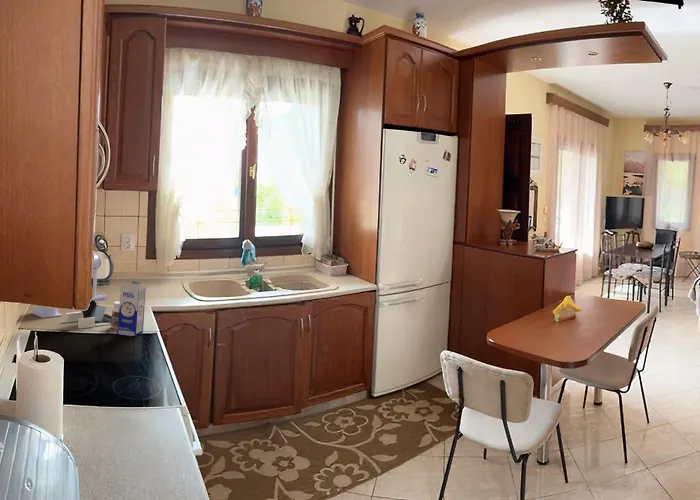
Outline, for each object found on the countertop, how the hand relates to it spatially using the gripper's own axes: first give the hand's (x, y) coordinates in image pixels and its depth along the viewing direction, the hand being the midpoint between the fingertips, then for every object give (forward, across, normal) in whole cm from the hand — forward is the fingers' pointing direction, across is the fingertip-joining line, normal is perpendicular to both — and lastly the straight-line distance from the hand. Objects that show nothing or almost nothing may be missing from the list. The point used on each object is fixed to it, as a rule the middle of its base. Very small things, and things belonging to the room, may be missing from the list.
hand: (86, 320), depth 226 cm
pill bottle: (+2, +8, -11) cm, 13 cm away
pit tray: (+1, +9, 0) cm, 9 cm away
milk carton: (+2, +6, -21) cm, 22 cm away
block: (+1, +3, +1) cm, 3 cm away
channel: (+1, +1, 0) cm, 2 cm away
